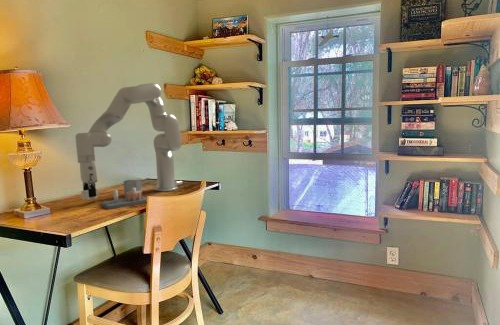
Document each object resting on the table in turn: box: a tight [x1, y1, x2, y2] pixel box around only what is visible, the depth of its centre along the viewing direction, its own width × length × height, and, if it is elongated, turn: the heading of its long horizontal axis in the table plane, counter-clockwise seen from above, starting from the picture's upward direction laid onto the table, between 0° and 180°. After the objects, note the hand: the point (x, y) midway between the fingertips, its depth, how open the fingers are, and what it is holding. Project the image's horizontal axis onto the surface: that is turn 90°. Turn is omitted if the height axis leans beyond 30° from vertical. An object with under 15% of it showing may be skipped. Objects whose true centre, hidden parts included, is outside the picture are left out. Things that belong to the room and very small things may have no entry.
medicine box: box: [123, 179, 143, 198], centre depth 195 cm, size 8×4×9 cm, turn 71°
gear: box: [80, 188, 99, 201], centre depth 181 cm, size 7×7×4 cm
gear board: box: [99, 188, 148, 210], centre depth 180 cm, size 20×11×7 cm, turn 130°
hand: (90, 195), depth 181 cm, fingers closed on gear, 7 cm apart
